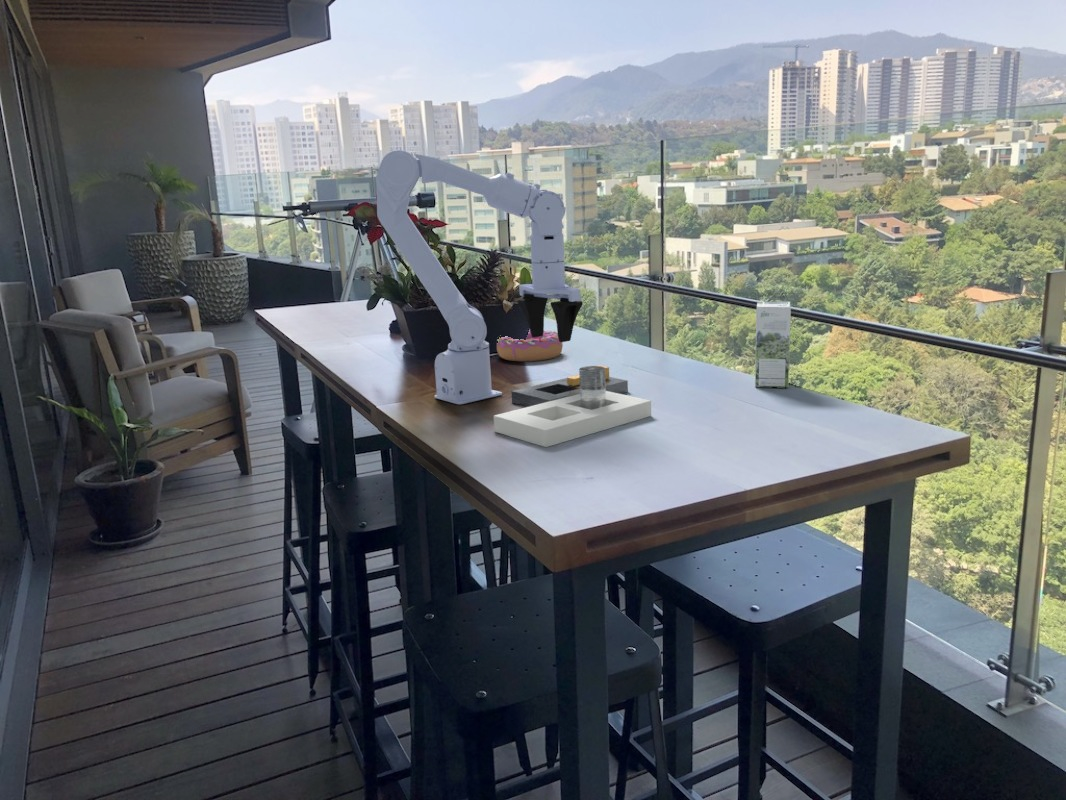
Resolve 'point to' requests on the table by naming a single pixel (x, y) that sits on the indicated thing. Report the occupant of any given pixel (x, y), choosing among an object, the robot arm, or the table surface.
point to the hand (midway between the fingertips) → (550, 338)
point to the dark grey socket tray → (559, 391)
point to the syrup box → (772, 344)
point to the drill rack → (569, 418)
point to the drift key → (576, 379)
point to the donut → (530, 347)
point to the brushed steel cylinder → (592, 387)
